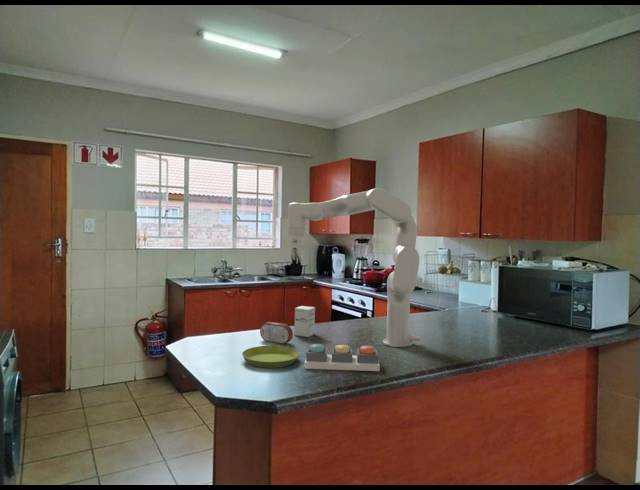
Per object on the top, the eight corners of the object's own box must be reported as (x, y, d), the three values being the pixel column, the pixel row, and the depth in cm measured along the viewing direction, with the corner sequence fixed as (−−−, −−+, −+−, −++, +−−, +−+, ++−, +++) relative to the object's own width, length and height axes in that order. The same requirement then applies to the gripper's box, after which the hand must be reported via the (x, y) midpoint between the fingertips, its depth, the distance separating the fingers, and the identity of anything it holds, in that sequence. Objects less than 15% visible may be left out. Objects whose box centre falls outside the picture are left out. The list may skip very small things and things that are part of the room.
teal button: (324, 352, 159) (324, 344, 159) (323, 356, 154) (323, 347, 154) (310, 351, 159) (310, 343, 159) (309, 355, 154) (309, 347, 154)
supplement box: (293, 335, 198) (294, 307, 198) (300, 332, 205) (300, 305, 205) (308, 337, 195) (309, 309, 195) (314, 333, 202) (315, 306, 202)
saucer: (250, 373, 146) (250, 364, 146) (236, 356, 165) (236, 348, 165) (307, 366, 154) (307, 357, 154) (288, 351, 173) (288, 343, 173)
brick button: (373, 354, 158) (373, 345, 158) (374, 358, 153) (375, 349, 153) (359, 353, 159) (360, 345, 158) (360, 357, 154) (360, 349, 153)
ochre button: (348, 353, 159) (349, 345, 159) (349, 357, 154) (349, 348, 154) (335, 352, 159) (335, 344, 159) (334, 356, 154) (335, 348, 154)
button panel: (376, 361, 161) (377, 348, 161) (379, 371, 150) (379, 356, 150) (306, 359, 163) (307, 345, 162) (304, 368, 152) (304, 354, 151)
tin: (293, 343, 184) (293, 324, 184) (289, 345, 181) (289, 325, 181) (262, 339, 190) (263, 320, 190) (258, 341, 187) (259, 321, 187)
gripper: (303, 232, 176) (302, 274, 177) (307, 232, 193) (306, 270, 194) (284, 231, 177) (283, 274, 177) (290, 231, 194) (289, 270, 194)
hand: (295, 272), depth 186 cm, fingers open, 9 cm apart
